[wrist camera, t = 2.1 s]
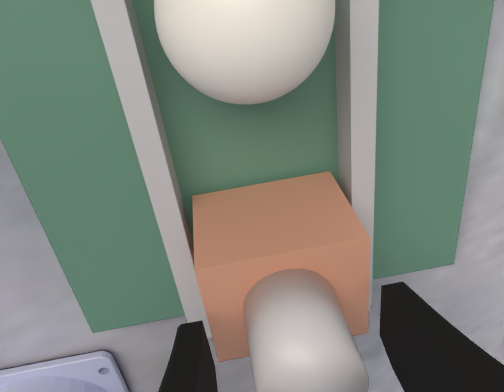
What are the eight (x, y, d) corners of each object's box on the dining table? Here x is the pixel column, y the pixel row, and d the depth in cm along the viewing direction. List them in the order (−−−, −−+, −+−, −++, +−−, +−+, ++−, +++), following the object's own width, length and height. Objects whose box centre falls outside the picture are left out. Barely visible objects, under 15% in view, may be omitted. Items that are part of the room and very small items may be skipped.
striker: (333, 256, 18) (407, 419, 12) (212, 279, 18) (226, 456, 12) (330, 171, 16) (418, 317, 10) (192, 196, 16) (197, 360, 10)
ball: (314, 64, 14) (361, 114, 10) (177, 87, 14) (174, 146, 10) (305, -101, 12) (362, -115, 8) (140, -76, 11) (119, -78, 8)
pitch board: (442, 249, 20) (472, 287, 18) (96, 315, 20) (86, 362, 17) (556, -616, 9) (677, -794, 7) (-287, -530, 8) (-459, -698, 6)
